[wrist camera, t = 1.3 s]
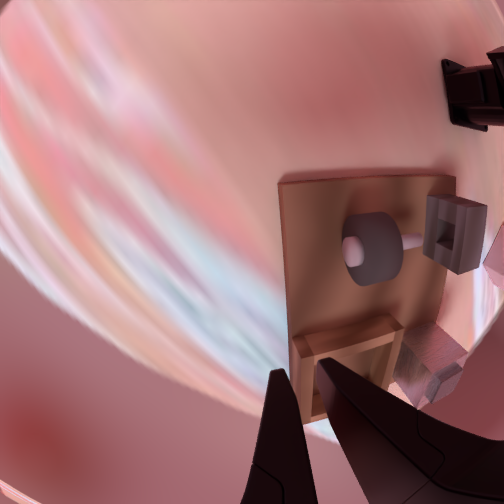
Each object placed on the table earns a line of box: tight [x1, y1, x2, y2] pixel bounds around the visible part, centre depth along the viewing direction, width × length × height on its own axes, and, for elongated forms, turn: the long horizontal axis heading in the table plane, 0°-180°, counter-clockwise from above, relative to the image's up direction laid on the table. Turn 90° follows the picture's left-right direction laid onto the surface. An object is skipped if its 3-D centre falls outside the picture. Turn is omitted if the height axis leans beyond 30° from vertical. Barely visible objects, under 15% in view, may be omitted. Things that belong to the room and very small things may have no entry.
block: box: [392, 321, 469, 409], centre depth 21 cm, size 5×5×7 cm
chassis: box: [278, 175, 487, 425], centre depth 20 cm, size 16×22×6 cm
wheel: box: [342, 212, 423, 286], centre depth 16 cm, size 6×4×4 cm
